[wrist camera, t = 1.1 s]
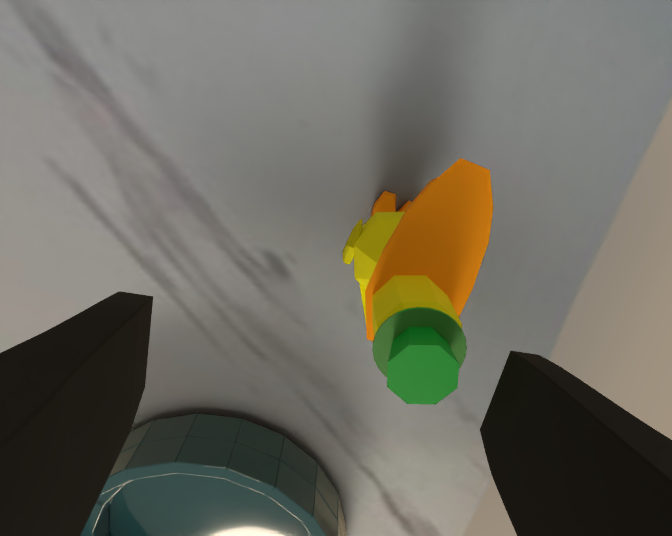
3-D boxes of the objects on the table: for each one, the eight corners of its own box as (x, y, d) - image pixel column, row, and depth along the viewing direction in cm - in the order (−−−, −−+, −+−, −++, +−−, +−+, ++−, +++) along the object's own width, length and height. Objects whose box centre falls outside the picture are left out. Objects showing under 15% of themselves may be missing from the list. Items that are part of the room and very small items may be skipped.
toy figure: (386, 121, 21) (432, 154, 10) (469, 154, 22) (604, 222, 10) (325, 272, 23) (306, 443, 12) (402, 301, 24) (453, 493, 12)
